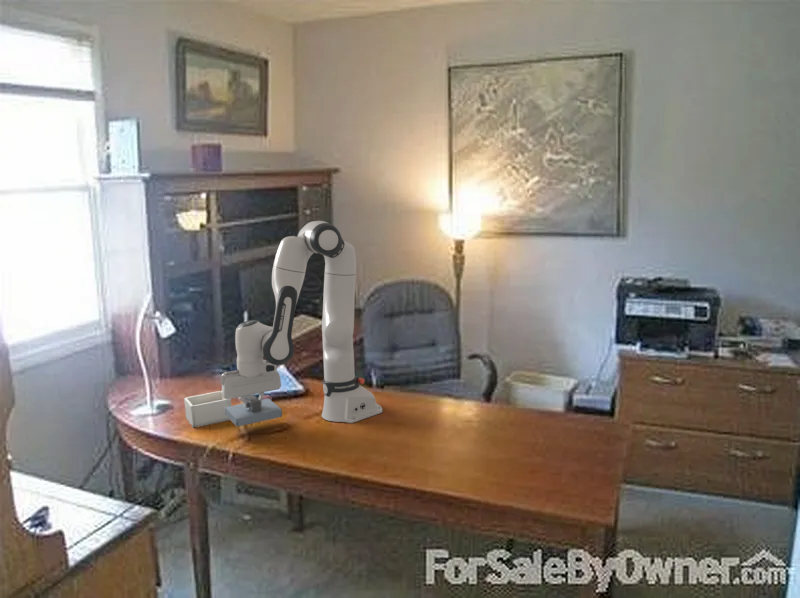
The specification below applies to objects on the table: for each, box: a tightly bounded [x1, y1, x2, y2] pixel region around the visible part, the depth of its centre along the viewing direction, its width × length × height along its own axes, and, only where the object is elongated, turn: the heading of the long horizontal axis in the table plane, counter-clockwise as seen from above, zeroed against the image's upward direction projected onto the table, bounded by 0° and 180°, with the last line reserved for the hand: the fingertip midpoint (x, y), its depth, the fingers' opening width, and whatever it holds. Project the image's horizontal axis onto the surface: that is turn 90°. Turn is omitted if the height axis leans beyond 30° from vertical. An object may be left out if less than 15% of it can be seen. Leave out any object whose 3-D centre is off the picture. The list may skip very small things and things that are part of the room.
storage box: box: [183, 390, 232, 429], centre depth 233 cm, size 14×11×8 cm
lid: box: [225, 394, 283, 428], centre depth 222 cm, size 16×13×6 cm
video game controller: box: [262, 394, 273, 401], centre depth 241 cm, size 10×5×7 cm, turn 169°
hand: (252, 405), depth 222 cm, fingers closed on lid, 3 cm apart
